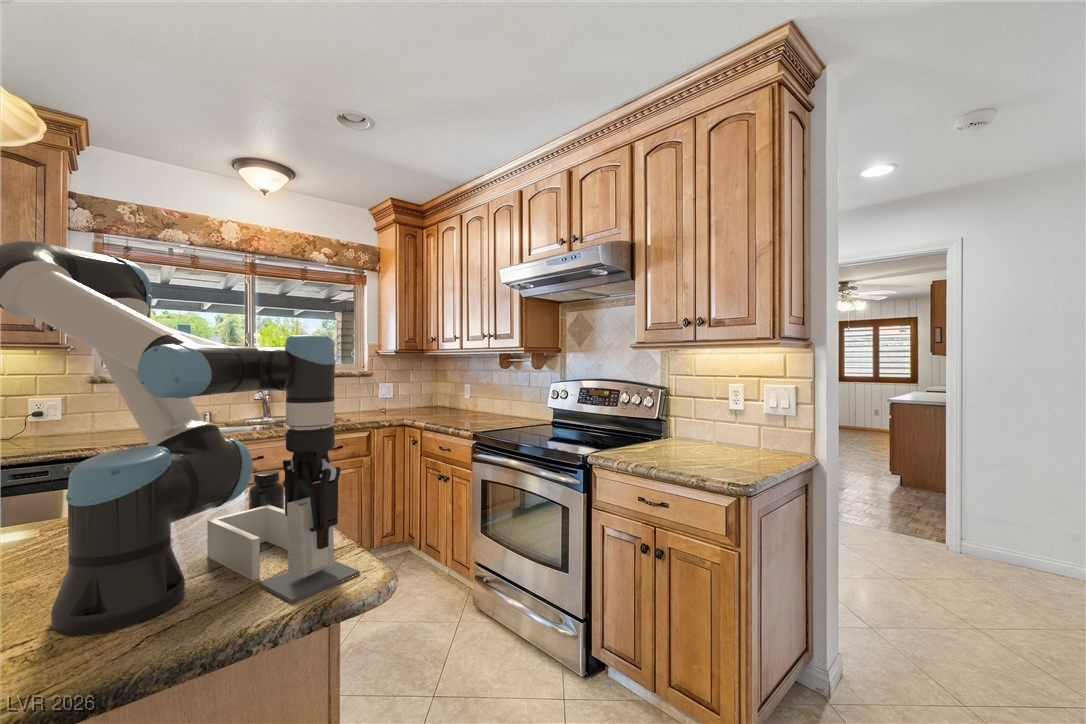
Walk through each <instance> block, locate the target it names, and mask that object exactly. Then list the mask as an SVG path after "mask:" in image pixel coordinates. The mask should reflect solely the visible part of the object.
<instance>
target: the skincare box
mask: <svg viewBox="0 0 1086 724" xmlns="http://www.w3.org/2000/svg"><path fill="white" fill-rule="evenodd" d="M287 525H288V550H287V564H288V566H287V569H288V570H287V572H289V573H290V574H292V575H295V576H298V577H301V578H304V577H307V576H309V575H311V574H313V573H316V572H318V571H320V570H322V569H324V568H327V567H329V566H331V565H333V564H334V561H335V556H334V555H335V554H334V553H335V551H334V550H335V549H334V546H335V545H334V526H331V527H329V540H328V541H329V545H328V564H327V565H325V566H322V567H319V568H317V569H314V570H312V569H310V528H313V527H314V525H313V517H312V509H311V501H310V497H307V498H304V499H300V500H297V501H293V502H290V503H287Z"/></svg>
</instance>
